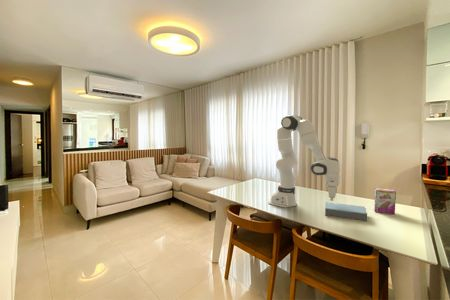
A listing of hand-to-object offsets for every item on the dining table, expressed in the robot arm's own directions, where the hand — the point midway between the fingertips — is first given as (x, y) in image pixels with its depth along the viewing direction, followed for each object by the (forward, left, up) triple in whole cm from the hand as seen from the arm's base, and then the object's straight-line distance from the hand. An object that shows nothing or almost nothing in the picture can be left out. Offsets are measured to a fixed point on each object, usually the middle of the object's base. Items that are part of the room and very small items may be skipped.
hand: (331, 200), depth 141 cm
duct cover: (+8, +2, -5) cm, 10 cm away
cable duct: (+8, +1, -10) cm, 13 cm away
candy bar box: (+33, +17, -10) cm, 38 cm away
